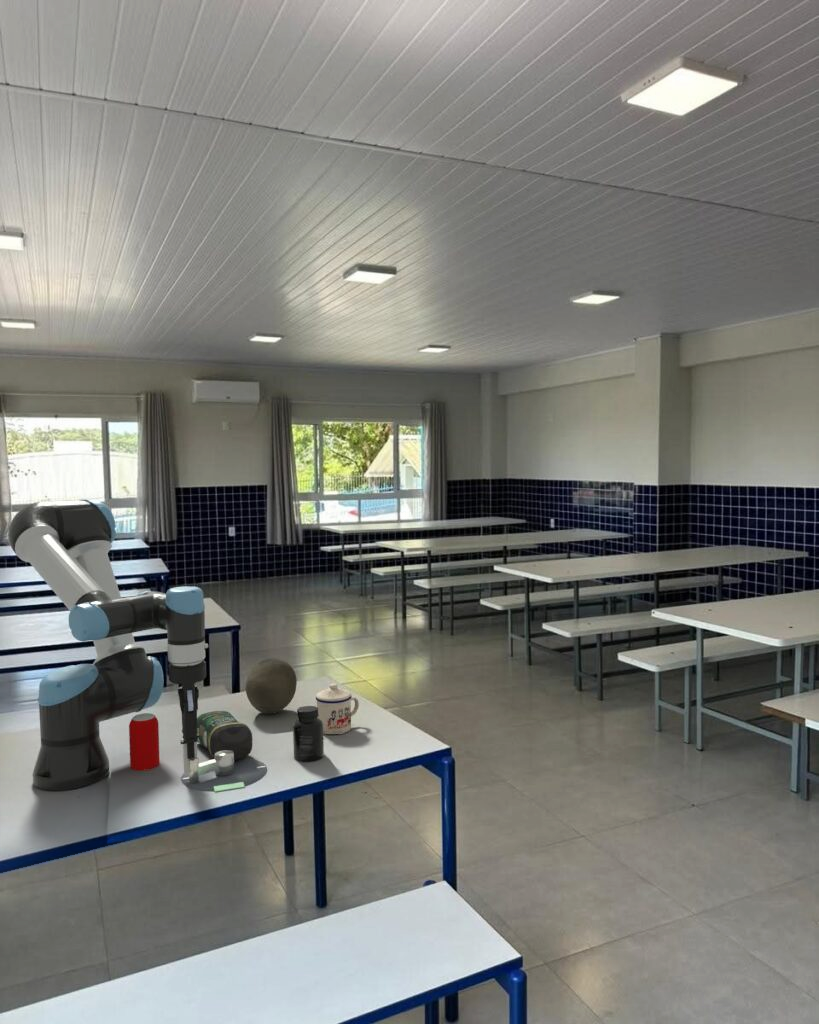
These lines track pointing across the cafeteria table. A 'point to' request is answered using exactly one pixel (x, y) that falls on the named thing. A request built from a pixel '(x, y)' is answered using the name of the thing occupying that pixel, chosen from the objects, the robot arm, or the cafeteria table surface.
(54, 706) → the robot arm
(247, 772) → the dial plate
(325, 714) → the teacup with lid
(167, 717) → the cafeteria table surface
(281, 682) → the cantaloupe
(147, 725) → the beverage can
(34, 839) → the cafeteria table surface
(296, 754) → the supplement bottle
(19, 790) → the cafeteria table surface
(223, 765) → the pointer
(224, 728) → the coffee jar
